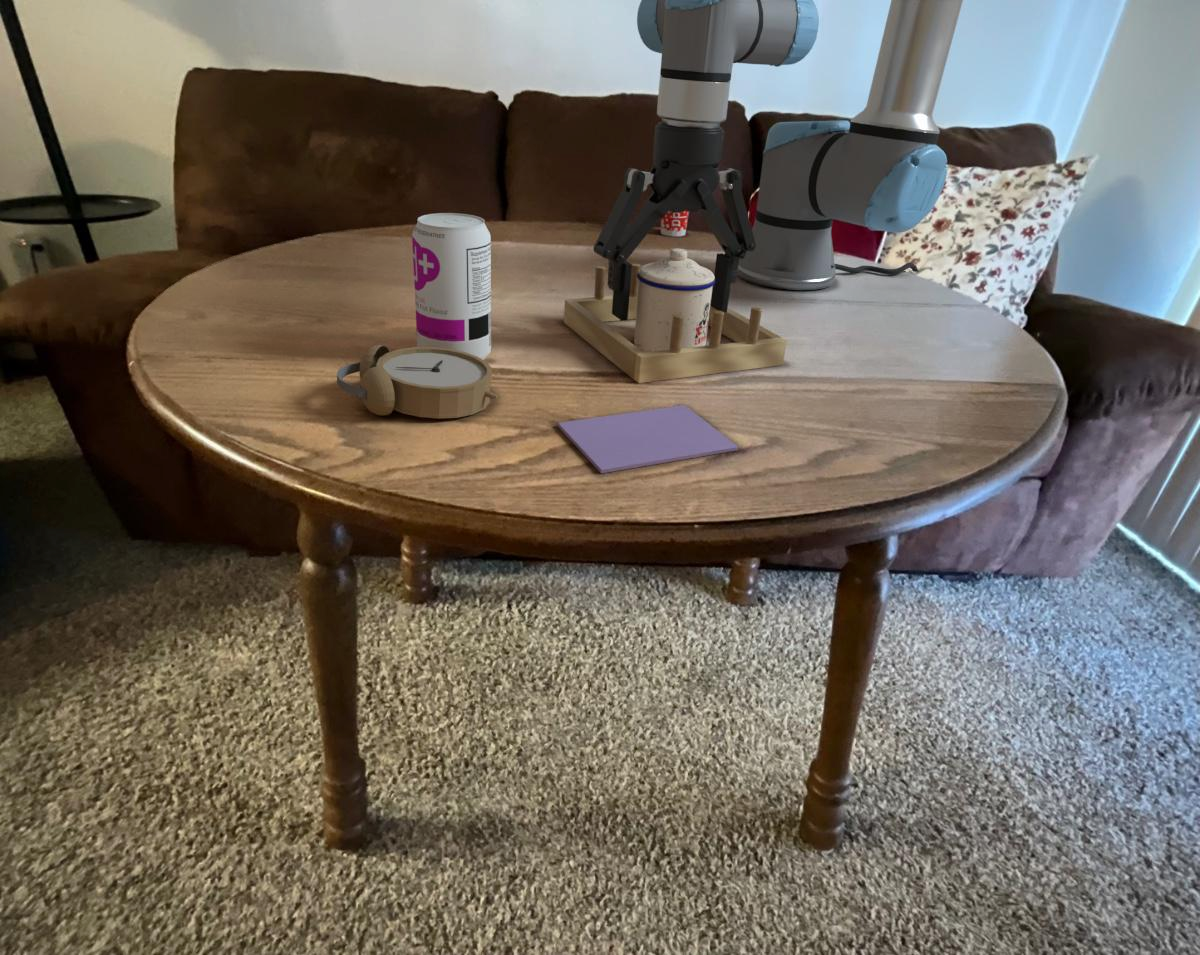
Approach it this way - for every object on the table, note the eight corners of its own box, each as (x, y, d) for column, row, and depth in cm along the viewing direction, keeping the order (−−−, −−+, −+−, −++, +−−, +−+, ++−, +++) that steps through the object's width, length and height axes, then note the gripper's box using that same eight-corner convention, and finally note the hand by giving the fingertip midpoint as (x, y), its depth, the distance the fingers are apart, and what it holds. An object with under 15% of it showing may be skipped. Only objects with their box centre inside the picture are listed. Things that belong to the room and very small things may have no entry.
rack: (692, 310, 116) (698, 259, 112) (783, 365, 99) (793, 306, 96) (563, 322, 108) (565, 268, 105) (637, 383, 91) (643, 321, 88)
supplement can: (431, 372, 91) (425, 230, 84) (409, 347, 97) (402, 213, 90) (501, 363, 94) (502, 226, 87) (476, 339, 101) (474, 210, 93)
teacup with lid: (711, 362, 98) (723, 262, 93) (633, 358, 98) (640, 257, 93) (700, 328, 109) (711, 237, 103) (630, 325, 109) (636, 233, 103)
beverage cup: (654, 235, 155) (661, 154, 148) (658, 228, 160) (665, 150, 153) (688, 238, 154) (696, 157, 147) (690, 231, 159) (698, 152, 153)
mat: (684, 408, 86) (684, 404, 86) (737, 450, 78) (738, 446, 78) (557, 426, 81) (557, 422, 81) (601, 473, 73) (601, 469, 73)
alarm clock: (503, 390, 80) (338, 370, 75) (494, 437, 82) (333, 420, 77) (487, 349, 90) (340, 329, 85) (479, 392, 92) (335, 375, 87)
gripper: (766, 120, 99) (740, 297, 109) (570, 116, 90) (562, 310, 100) (804, 128, 93) (774, 314, 104) (600, 125, 84) (588, 330, 94)
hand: (670, 313), depth 102 cm, fingers open, 13 cm apart
